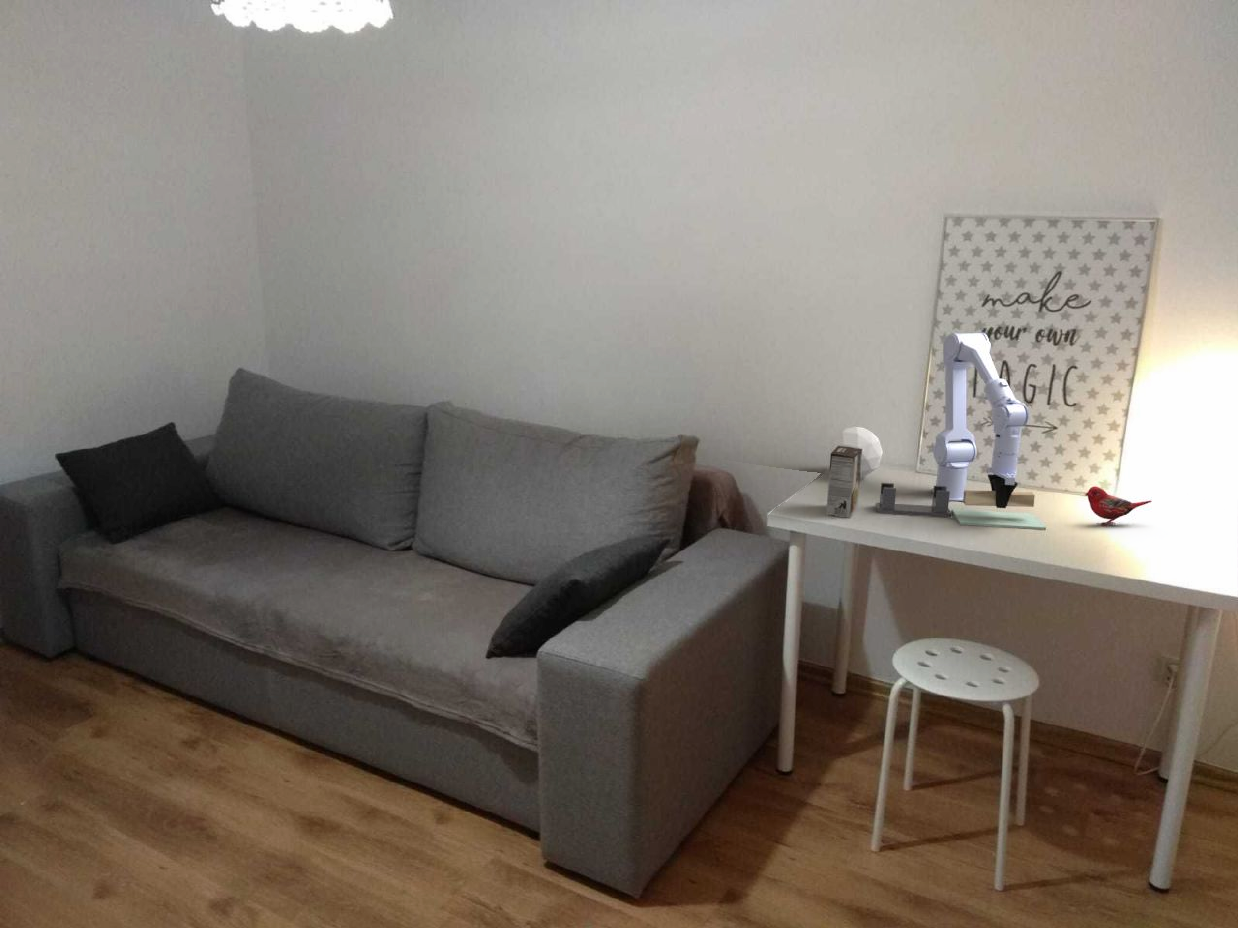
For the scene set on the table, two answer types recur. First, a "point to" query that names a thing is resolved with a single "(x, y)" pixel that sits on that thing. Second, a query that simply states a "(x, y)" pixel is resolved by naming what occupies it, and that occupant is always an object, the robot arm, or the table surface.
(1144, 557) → the table surface
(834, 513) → the coffee box
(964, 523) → the green mat
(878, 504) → the grey u-shaped holder
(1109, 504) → the decorative bird figurine
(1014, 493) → the beech rail
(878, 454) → the white faceted ovoid
